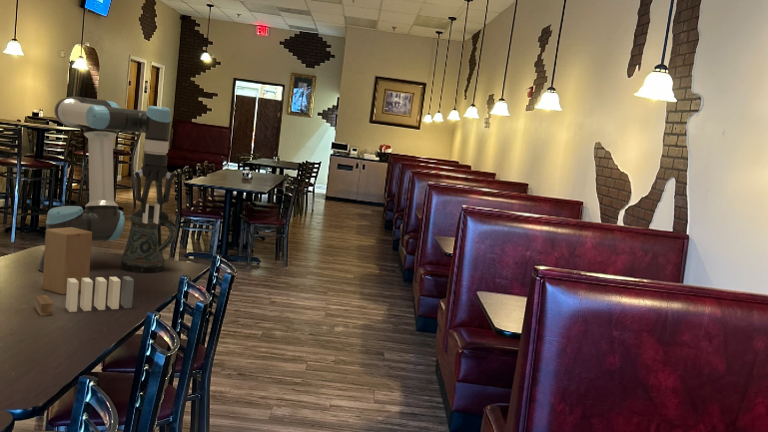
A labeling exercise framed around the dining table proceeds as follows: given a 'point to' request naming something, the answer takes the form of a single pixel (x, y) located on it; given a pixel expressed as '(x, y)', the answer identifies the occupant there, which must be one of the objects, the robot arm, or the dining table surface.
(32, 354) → the dining table surface
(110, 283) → the domino
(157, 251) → the beer stein
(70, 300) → the domino
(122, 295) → the domino
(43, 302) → the end block
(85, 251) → the wooden block
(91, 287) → the domino
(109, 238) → the robot arm
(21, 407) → the dining table surface
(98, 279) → the domino
